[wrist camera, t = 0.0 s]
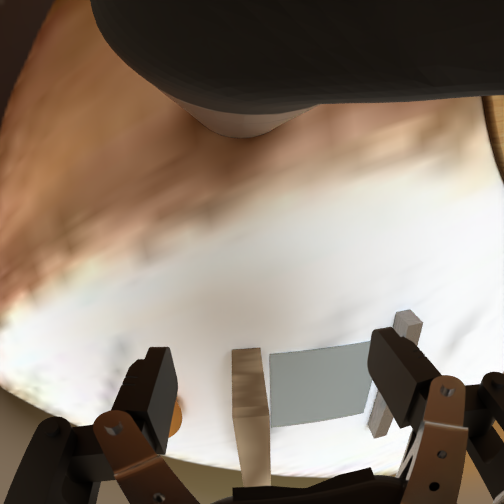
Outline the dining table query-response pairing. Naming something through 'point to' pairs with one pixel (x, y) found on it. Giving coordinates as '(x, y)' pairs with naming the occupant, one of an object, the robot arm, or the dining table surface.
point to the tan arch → (251, 417)
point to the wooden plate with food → (496, 126)
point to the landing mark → (319, 384)
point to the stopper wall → (381, 414)
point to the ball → (175, 420)
